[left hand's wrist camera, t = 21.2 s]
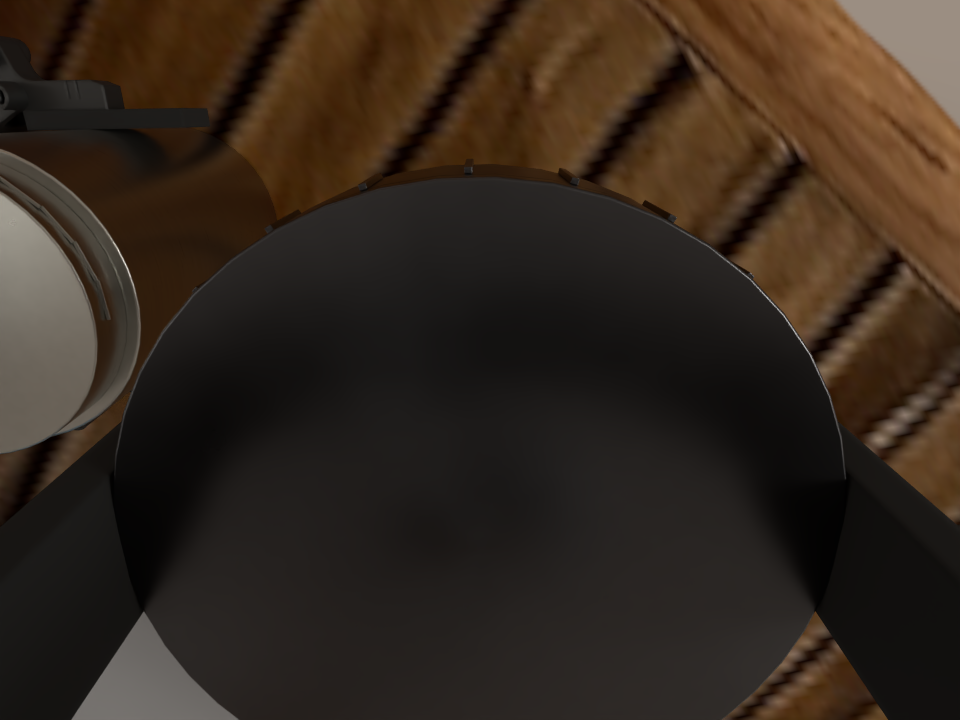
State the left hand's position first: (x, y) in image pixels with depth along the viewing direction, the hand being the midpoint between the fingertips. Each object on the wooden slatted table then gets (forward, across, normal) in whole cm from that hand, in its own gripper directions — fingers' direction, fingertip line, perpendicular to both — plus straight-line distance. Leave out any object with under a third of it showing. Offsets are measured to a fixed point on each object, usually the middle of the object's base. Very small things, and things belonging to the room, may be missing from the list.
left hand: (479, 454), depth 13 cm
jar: (+25, +16, -1) cm, 29 cm away
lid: (-3, 0, 0) cm, 3 cm away
